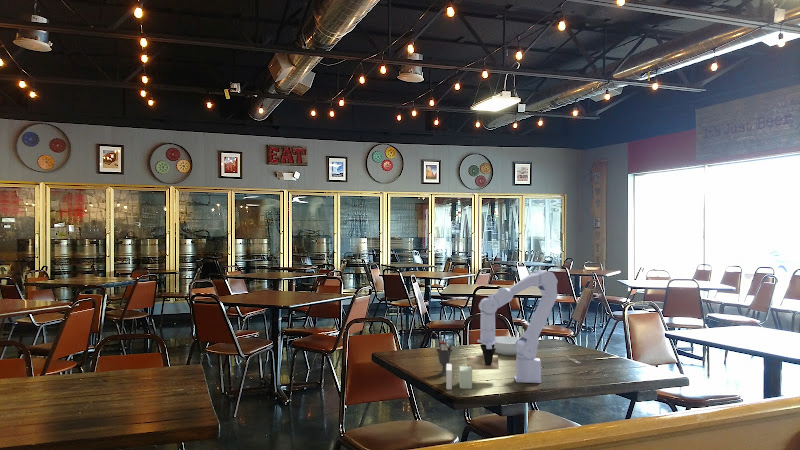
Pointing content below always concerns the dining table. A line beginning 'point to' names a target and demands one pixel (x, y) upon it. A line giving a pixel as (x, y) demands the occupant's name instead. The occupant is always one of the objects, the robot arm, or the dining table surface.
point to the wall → (449, 376)
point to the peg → (482, 362)
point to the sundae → (444, 355)
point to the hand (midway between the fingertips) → (487, 364)
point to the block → (465, 377)
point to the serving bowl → (505, 345)
